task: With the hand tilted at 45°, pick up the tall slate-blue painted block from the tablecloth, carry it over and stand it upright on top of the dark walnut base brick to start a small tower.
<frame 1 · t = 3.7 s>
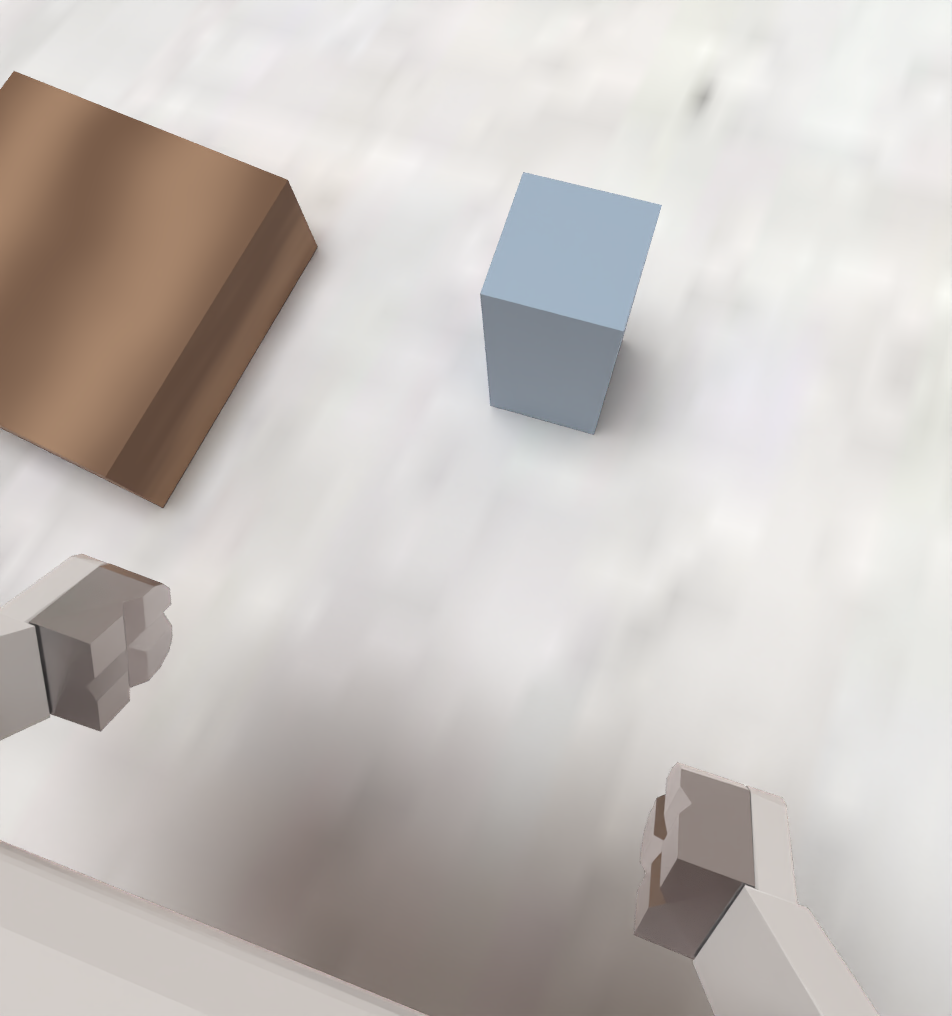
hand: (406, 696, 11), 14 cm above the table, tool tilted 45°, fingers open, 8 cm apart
base brick: (115, 314, 30), on the table
tower block: (556, 372, 28), on the table
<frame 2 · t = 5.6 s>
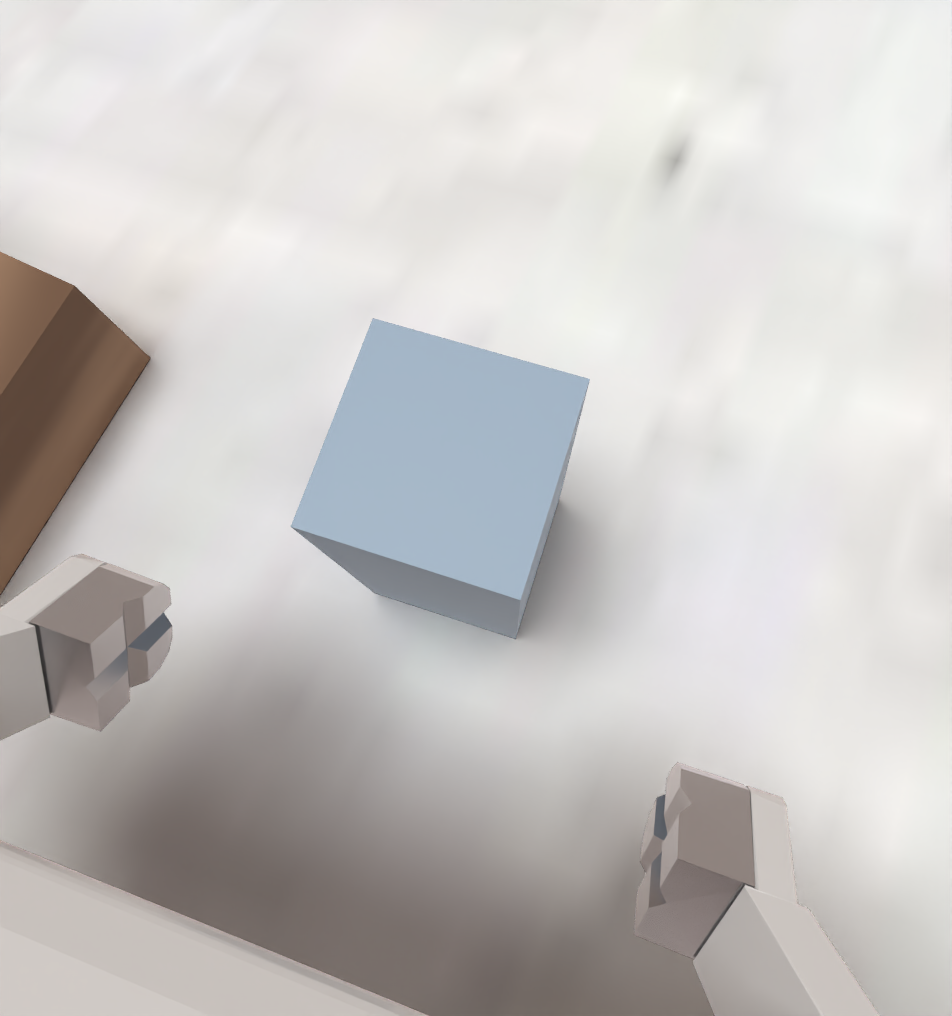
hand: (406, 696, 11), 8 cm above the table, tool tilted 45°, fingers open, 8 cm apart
tower block: (467, 545, 20), on the table
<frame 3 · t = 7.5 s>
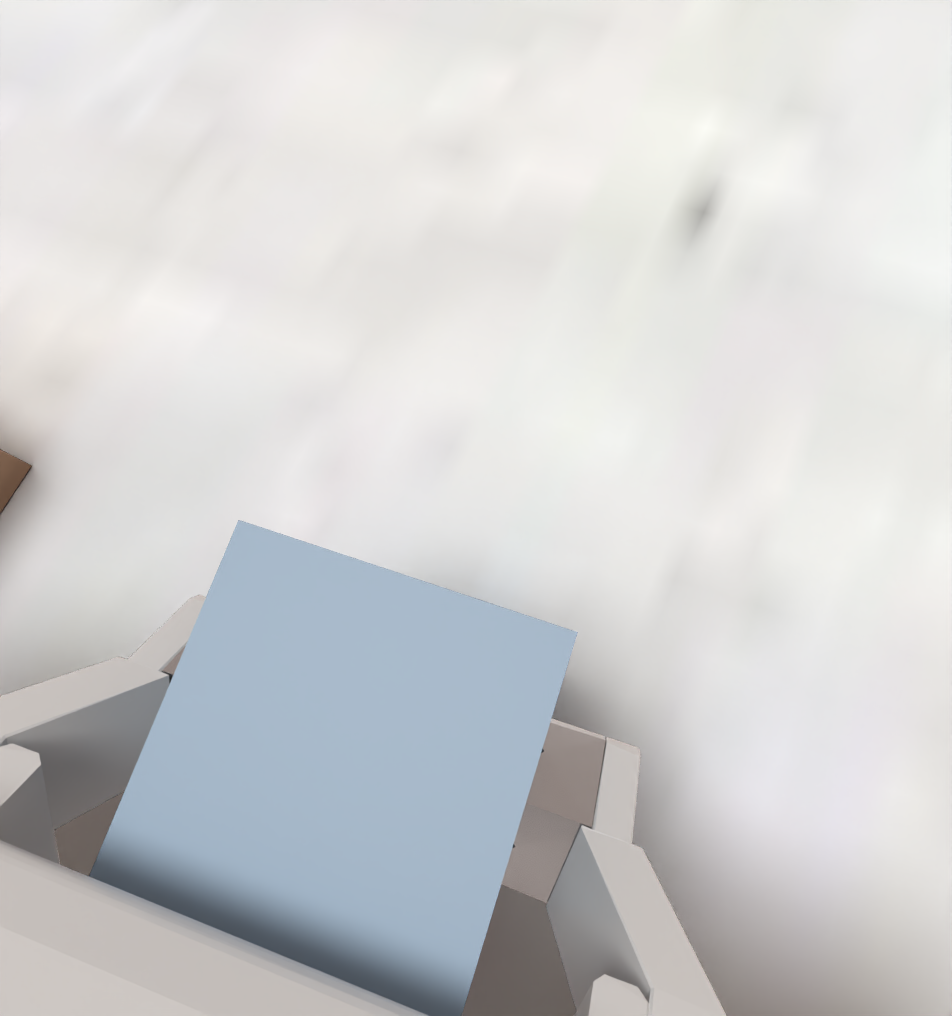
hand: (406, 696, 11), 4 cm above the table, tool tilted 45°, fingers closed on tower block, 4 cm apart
tower block: (427, 726, 16), on the table, touching gripper
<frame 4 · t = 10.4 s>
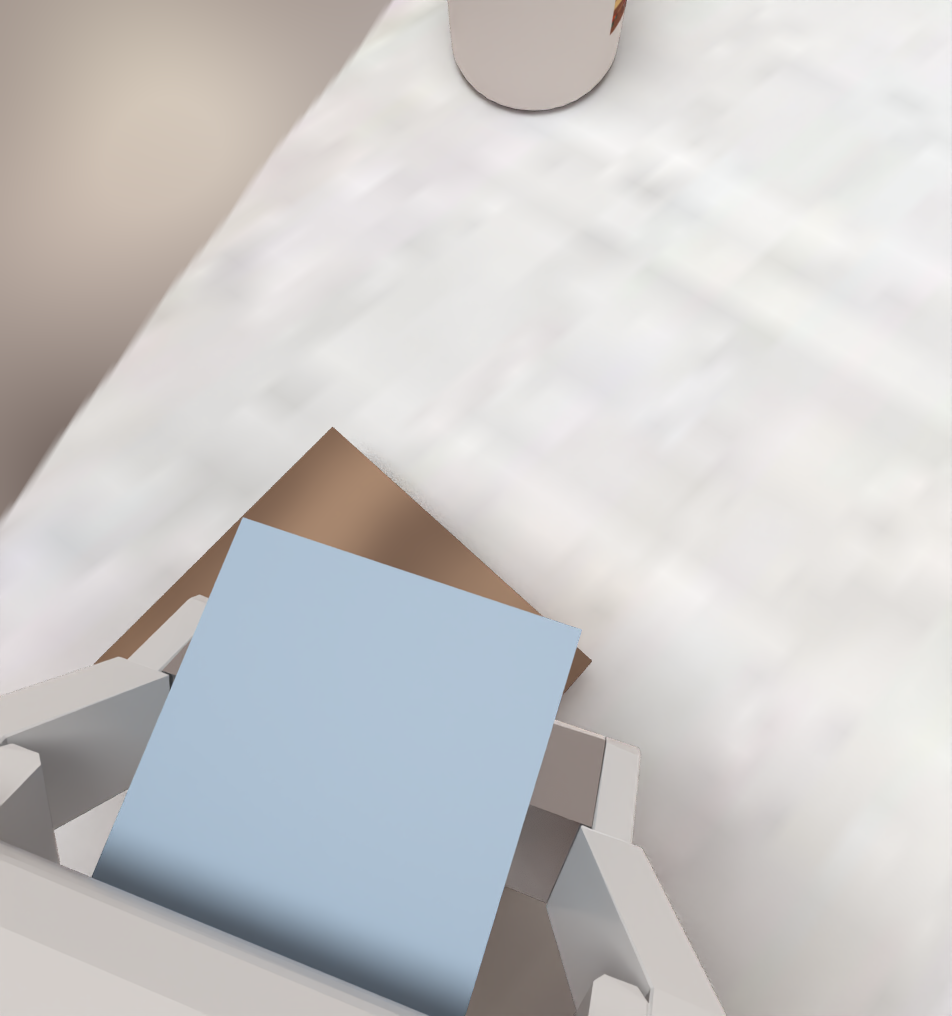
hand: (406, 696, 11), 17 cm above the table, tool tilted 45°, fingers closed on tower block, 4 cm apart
base brick: (354, 675, 28), on the table
milk bottle: (533, 51, 35), on the table
tower block: (429, 724, 16), point 13 cm above the table, touching gripper
when the fingers open (10 cm above the table, at t = 13.3 s): tower block drops 1 cm, resting on base brick.
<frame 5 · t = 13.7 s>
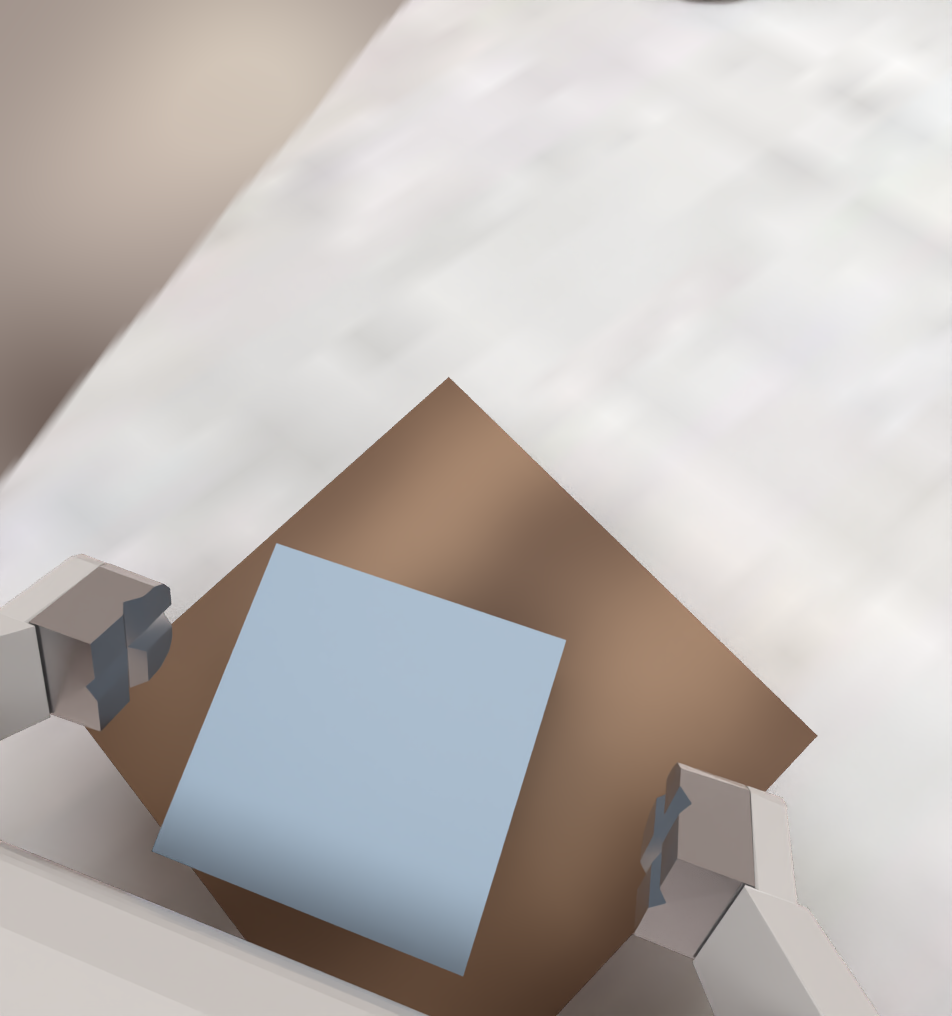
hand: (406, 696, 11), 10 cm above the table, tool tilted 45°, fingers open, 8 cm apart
base brick: (449, 718, 21), on the table
tower block: (433, 722, 17), point 4 cm above the table, touching base brick
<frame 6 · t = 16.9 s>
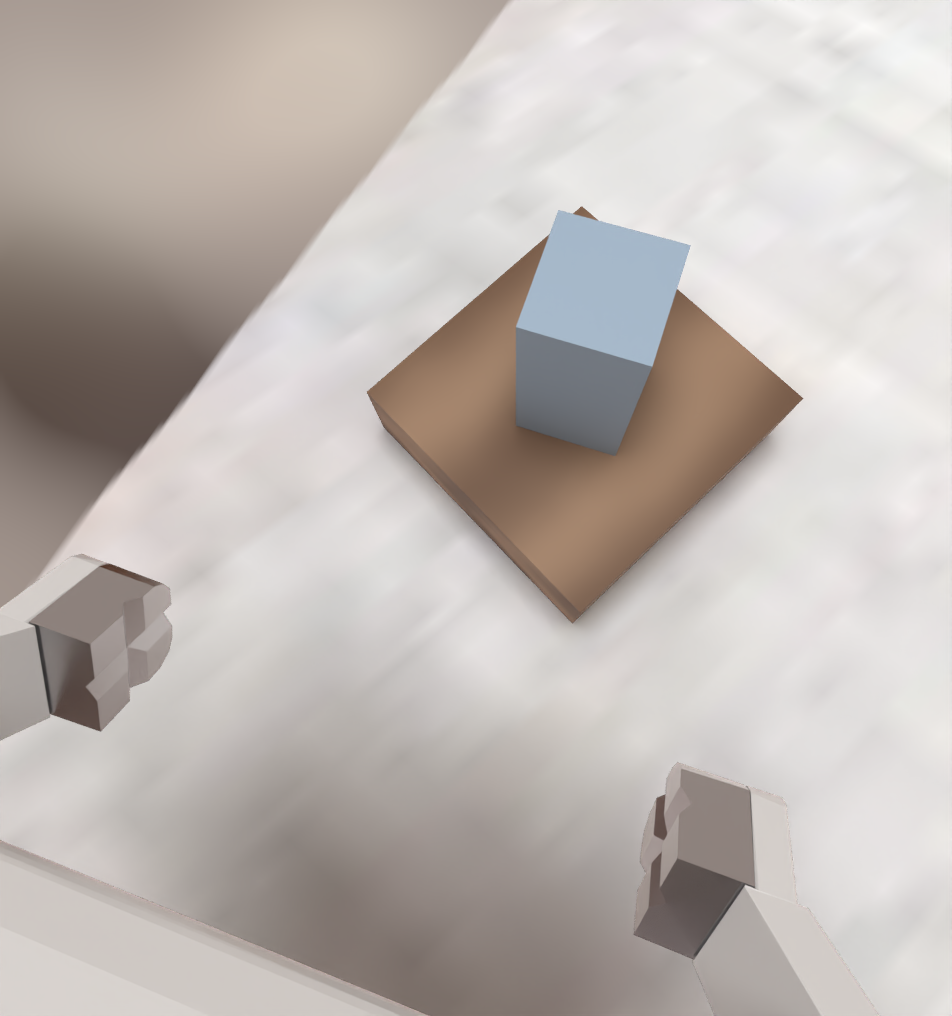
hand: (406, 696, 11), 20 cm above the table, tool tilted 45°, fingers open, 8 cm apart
base brick: (573, 430, 33), on the table
tower block: (580, 394, 29), point 4 cm above the table, touching base brick
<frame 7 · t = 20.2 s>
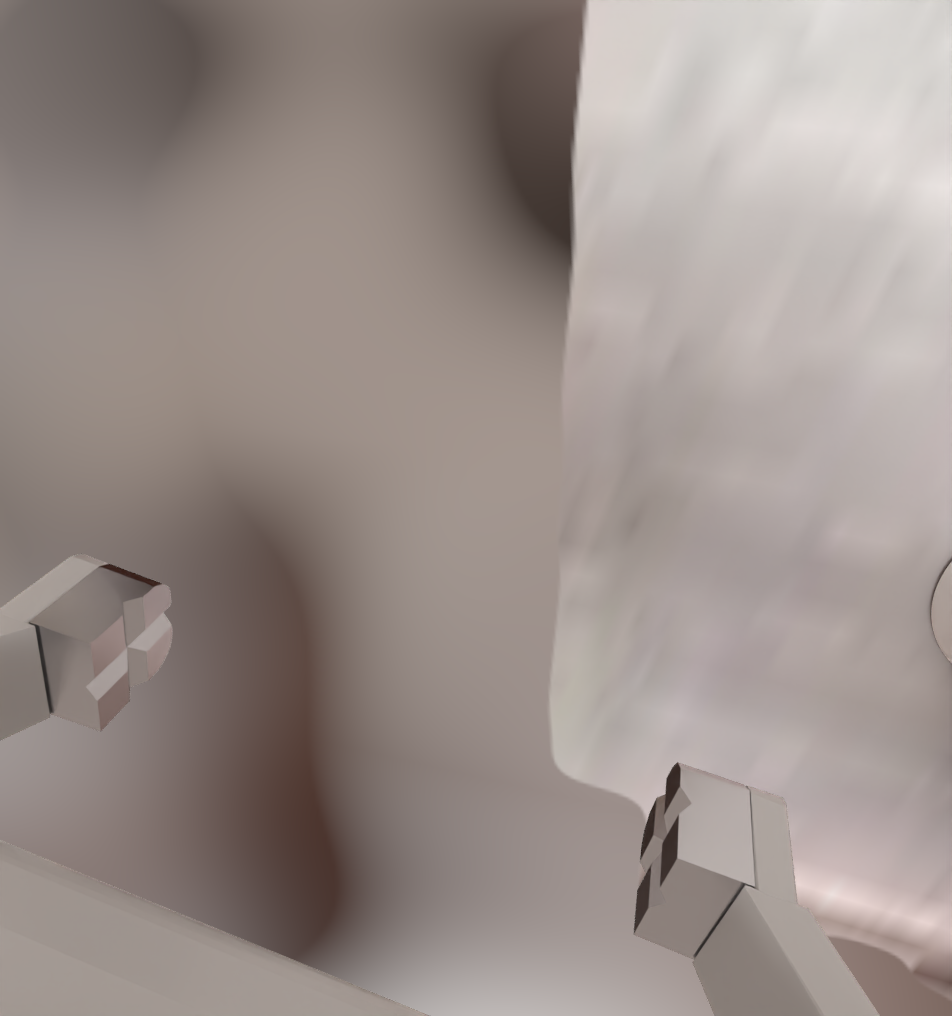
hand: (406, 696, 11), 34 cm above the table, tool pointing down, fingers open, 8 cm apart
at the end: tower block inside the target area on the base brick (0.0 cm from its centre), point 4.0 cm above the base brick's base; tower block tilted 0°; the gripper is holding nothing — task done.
